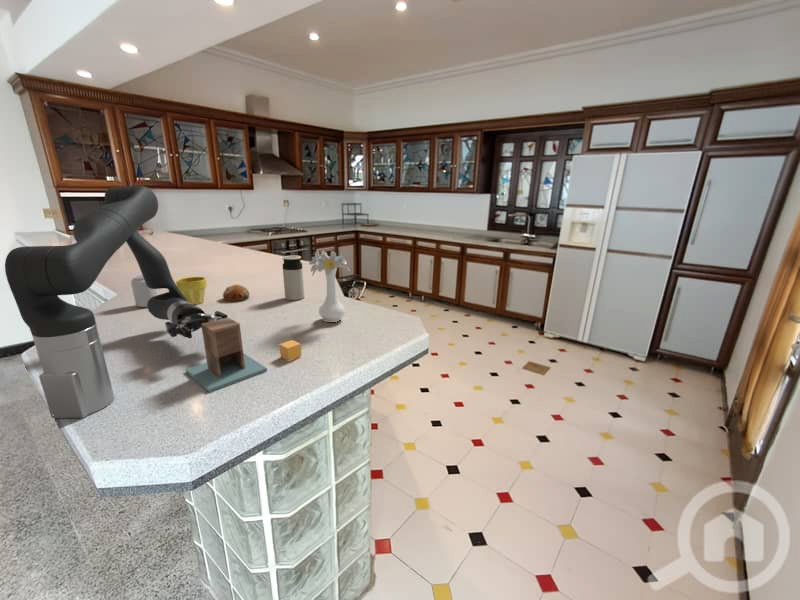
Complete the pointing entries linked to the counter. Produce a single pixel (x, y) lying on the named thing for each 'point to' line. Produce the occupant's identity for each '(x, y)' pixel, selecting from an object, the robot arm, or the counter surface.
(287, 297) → the travel mug
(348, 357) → the counter surface
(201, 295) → the plant pot
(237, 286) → the bread roll
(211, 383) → the teal mat
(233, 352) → the walnut cover
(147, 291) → the can
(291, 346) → the orange block
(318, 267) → the flower vase
